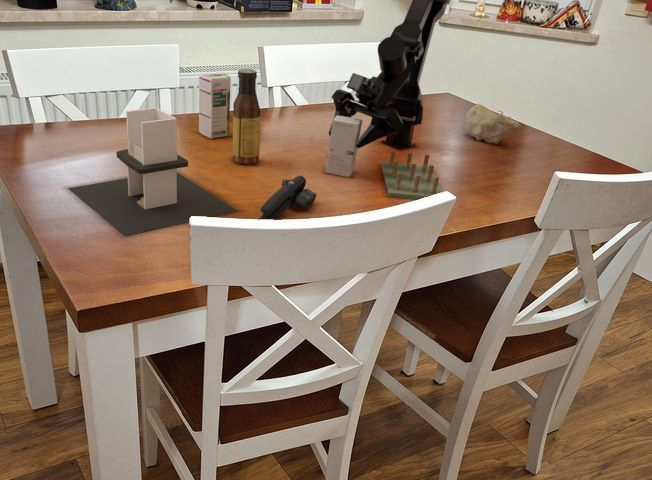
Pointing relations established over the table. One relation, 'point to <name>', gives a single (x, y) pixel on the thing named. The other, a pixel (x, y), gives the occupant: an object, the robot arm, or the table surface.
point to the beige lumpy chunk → (489, 124)
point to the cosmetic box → (343, 145)
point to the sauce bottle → (246, 120)
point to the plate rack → (409, 178)
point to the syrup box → (214, 104)
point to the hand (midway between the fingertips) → (343, 141)
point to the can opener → (288, 198)
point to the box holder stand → (150, 181)
